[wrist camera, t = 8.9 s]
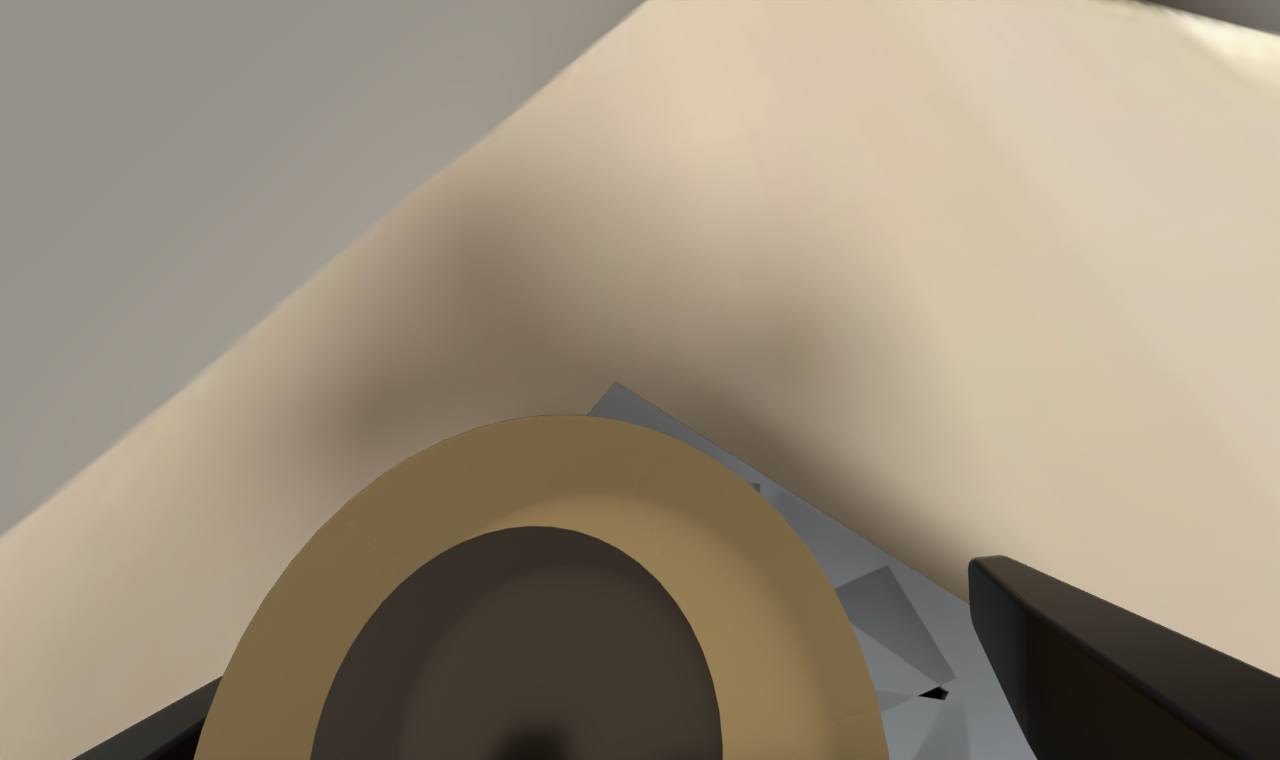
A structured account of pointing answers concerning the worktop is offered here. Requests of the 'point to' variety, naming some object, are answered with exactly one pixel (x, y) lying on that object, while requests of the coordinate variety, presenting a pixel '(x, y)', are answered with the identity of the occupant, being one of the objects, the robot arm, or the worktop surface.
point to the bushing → (550, 616)
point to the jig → (883, 621)
